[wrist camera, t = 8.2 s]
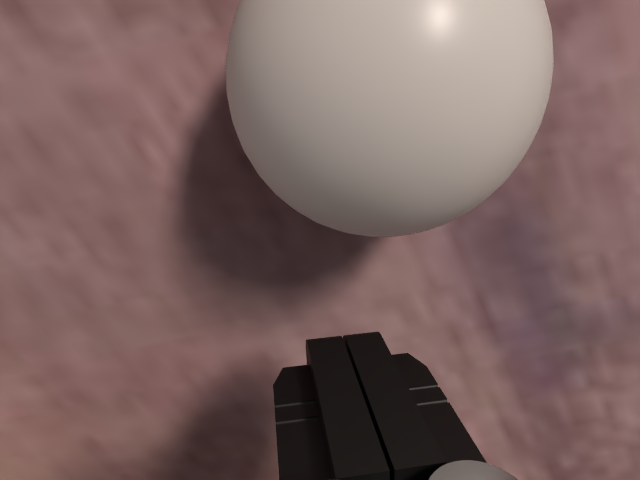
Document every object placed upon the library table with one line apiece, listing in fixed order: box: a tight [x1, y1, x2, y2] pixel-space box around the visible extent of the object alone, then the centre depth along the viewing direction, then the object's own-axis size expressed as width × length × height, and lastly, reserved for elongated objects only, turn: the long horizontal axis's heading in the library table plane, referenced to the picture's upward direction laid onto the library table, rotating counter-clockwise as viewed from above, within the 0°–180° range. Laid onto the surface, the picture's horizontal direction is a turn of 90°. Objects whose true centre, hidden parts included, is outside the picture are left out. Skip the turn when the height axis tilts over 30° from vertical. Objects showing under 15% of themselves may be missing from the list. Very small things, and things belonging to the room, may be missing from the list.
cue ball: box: [226, 0, 554, 237], centre depth 9 cm, size 6×6×6 cm
